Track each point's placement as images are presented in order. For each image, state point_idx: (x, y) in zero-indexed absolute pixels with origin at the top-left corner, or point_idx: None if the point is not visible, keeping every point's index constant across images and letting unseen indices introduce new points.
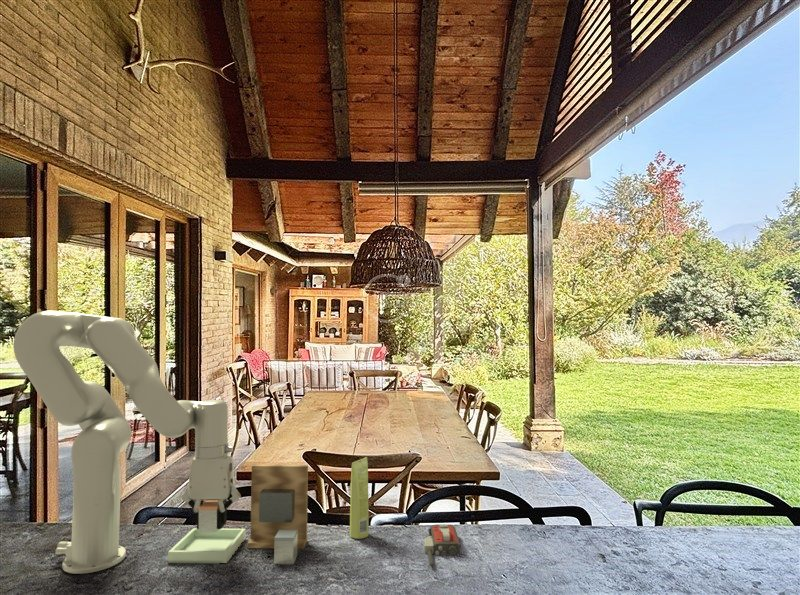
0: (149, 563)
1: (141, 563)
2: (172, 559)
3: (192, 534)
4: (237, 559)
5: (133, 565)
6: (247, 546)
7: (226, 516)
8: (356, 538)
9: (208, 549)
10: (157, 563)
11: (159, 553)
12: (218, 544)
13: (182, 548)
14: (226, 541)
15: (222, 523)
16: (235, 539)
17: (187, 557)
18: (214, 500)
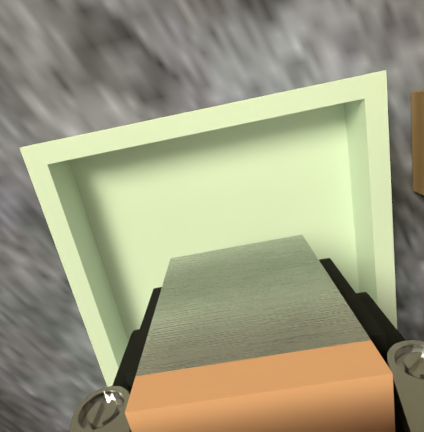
0: (63, 397)
1: (33, 402)
2: None
3: (66, 196)
4: (407, 300)
5: (17, 419)
6: (419, 192)
7: (382, 316)
8: None
9: None
10: (93, 391)
11: (27, 323)
12: (254, 208)
13: (112, 300)
14: (279, 166)
15: None
16: (384, 242)
17: None
18: (249, 392)
